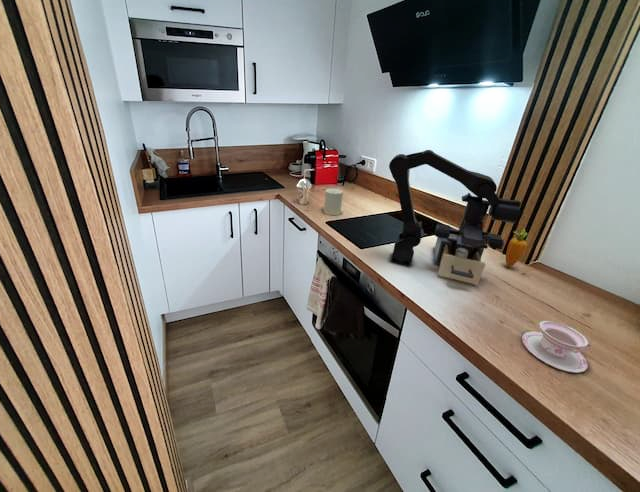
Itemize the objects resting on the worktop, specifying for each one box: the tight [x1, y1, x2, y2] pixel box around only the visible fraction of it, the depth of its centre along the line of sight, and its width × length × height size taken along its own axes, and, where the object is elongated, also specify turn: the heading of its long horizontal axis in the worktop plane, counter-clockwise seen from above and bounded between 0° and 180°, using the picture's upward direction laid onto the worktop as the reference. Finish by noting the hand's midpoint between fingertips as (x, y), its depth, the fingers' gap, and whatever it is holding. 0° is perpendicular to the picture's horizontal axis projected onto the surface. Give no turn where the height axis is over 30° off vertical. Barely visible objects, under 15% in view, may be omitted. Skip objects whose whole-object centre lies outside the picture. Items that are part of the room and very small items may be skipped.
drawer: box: [437, 244, 486, 285], centre depth 96 cm, size 17×12×8 cm
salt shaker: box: [454, 248, 468, 258], centre depth 97 cm, size 4×4×6 cm
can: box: [322, 187, 344, 216], centre depth 148 cm, size 9×9×12 cm
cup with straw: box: [296, 168, 315, 205], centre depth 158 cm, size 8×9×20 cm
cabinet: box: [434, 227, 485, 266], centre depth 106 cm, size 14×13×10 cm
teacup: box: [521, 320, 592, 374], centre depth 68 cm, size 12×12×6 cm
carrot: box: [505, 228, 528, 268], centre depth 101 cm, size 5×5×15 cm
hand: (460, 258), depth 97 cm, fingers open, 4 cm apart
